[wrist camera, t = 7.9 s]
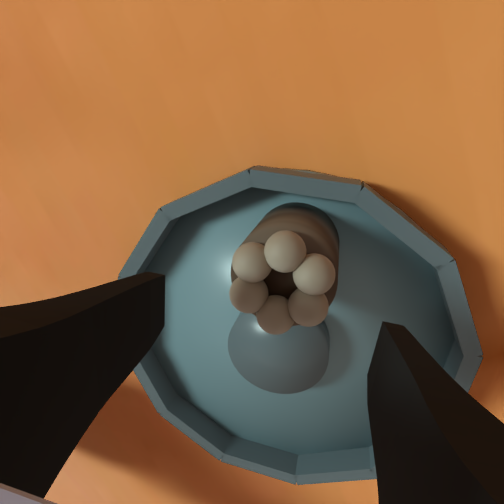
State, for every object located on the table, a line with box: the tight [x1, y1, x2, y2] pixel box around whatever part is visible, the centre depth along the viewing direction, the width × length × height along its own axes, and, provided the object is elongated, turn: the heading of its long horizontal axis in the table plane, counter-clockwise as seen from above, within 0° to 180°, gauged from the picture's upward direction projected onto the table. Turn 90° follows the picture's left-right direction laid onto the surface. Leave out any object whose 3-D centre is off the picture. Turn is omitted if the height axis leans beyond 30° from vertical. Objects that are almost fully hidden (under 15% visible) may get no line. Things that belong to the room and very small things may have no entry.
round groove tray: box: [118, 165, 483, 485], centre depth 20 cm, size 19×19×2 cm
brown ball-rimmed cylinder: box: [229, 202, 339, 335], centre depth 16 cm, size 4×4×6 cm
